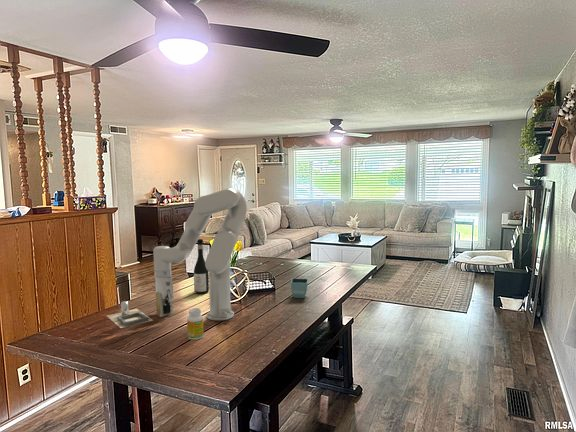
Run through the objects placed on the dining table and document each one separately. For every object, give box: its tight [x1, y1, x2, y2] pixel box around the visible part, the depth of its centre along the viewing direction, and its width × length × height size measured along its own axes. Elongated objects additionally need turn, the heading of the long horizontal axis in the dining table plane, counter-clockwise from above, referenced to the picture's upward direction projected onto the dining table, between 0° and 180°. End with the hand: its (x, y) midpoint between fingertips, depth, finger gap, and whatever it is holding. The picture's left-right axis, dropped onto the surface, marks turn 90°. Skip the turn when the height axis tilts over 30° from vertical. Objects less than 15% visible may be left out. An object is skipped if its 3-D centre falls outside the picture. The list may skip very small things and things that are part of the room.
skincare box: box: [155, 291, 174, 318], centre depth 184 cm, size 6×4×12 cm
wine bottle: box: [193, 238, 209, 295], centre depth 222 cm, size 8×8×30 cm
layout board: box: [106, 308, 153, 329], centre depth 180 cm, size 20×14×3 cm
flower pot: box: [290, 278, 309, 299], centre depth 213 cm, size 9×9×9 cm
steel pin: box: [120, 300, 130, 316], centre depth 184 cm, size 3×3×6 cm
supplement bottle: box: [186, 307, 205, 341], centre depth 161 cm, size 6×6×11 cm
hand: (164, 311), depth 184 cm, fingers closed on skincare box, 4 cm apart
